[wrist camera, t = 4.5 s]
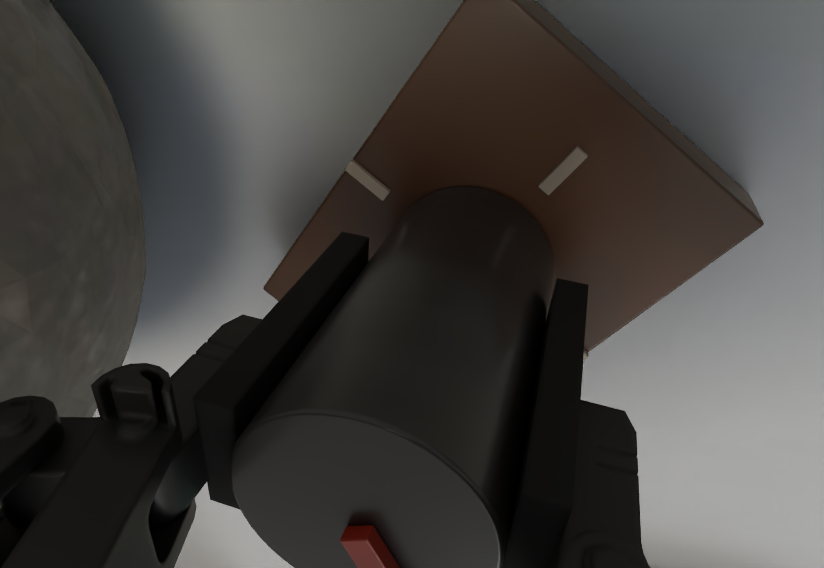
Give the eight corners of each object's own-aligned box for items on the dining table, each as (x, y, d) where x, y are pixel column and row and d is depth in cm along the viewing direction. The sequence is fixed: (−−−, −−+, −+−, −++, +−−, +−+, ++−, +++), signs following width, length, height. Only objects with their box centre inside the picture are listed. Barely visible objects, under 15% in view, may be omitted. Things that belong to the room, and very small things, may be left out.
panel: (497, -34, 15) (482, -29, 13) (750, 193, 16) (767, 227, 14) (288, 261, 21) (259, 291, 20) (473, 406, 22) (461, 447, 21)
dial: (365, 213, 17) (164, 442, 9) (520, 162, 15) (424, 404, 7) (429, 343, 19) (304, 624, 11) (576, 314, 17) (544, 636, 9)
